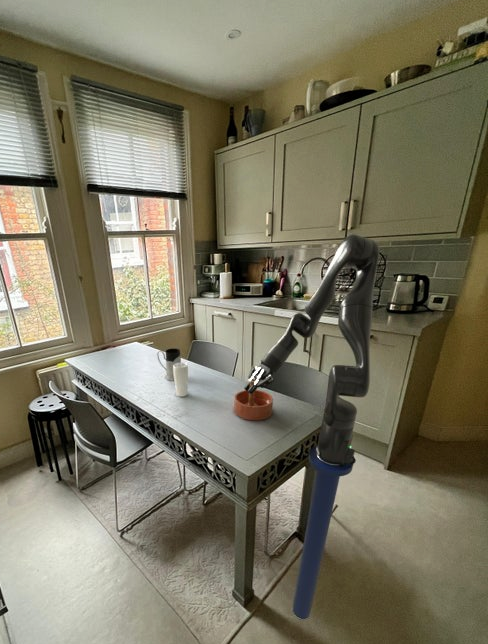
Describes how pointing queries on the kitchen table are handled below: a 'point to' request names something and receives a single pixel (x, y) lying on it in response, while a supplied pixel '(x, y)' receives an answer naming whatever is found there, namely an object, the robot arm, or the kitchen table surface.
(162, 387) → the kitchen table surface
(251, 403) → the wooden knob stand
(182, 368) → the drinking glass
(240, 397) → the bowl
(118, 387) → the kitchen table surface
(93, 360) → the kitchen table surface
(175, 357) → the pitcher
